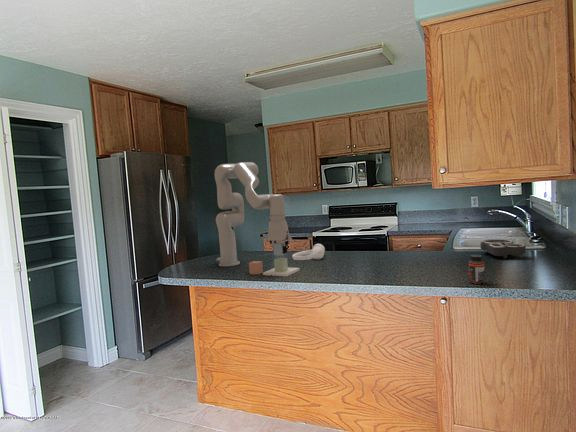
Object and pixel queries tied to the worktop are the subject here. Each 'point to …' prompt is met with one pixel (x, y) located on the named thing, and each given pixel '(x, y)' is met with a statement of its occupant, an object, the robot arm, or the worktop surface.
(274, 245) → the brick mid
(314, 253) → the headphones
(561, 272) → the worktop surface
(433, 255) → the worktop surface
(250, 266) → the brick top
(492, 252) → the motorcycle dashboard
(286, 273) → the plate
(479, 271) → the supplement bottle
